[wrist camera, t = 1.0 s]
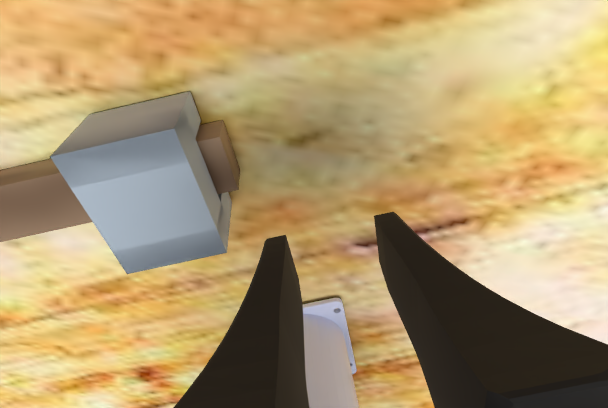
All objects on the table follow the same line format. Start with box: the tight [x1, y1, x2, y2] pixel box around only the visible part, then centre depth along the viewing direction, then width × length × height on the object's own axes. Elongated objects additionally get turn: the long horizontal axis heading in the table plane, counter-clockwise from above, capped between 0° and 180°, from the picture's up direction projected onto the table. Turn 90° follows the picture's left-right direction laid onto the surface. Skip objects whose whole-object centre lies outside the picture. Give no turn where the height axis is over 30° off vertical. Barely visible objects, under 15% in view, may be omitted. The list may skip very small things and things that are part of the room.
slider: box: [50, 91, 232, 274], centre depth 19 cm, size 7×5×4 cm
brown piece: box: [0, 120, 240, 242], centre depth 19 cm, size 8×22×4 cm, turn 101°
